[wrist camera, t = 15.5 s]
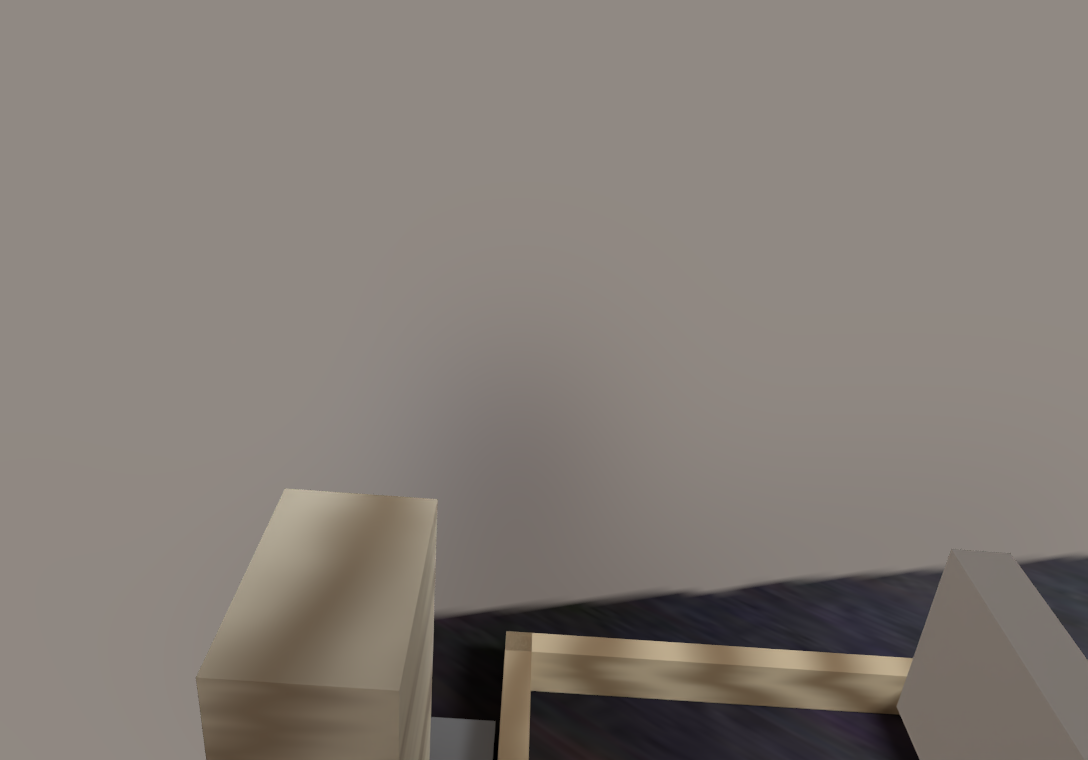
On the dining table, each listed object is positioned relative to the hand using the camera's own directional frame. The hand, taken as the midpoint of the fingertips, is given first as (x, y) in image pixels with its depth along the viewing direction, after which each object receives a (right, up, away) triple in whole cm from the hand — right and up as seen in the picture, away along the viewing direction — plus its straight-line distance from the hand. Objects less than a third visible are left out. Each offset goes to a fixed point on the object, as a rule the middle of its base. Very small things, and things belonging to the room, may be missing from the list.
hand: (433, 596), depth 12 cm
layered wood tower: (-7, -20, +28) cm, 35 cm away
